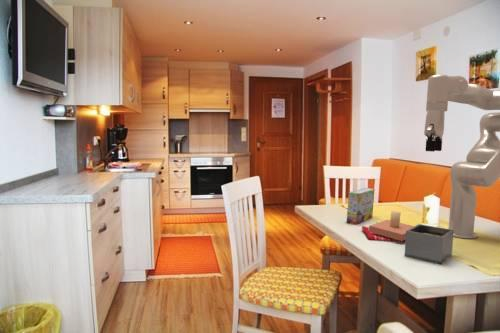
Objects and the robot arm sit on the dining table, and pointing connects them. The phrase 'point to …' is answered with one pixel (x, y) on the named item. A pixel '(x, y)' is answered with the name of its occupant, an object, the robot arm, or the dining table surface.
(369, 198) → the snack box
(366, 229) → the dish towel
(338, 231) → the dining table surface
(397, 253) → the dining table surface
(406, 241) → the tin
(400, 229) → the lid
